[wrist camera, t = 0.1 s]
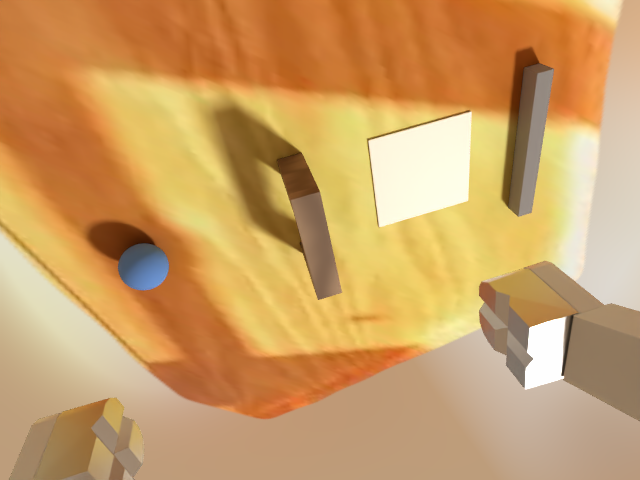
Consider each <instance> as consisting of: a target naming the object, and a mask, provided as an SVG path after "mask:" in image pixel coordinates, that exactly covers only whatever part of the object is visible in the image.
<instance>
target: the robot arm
mask: <svg viewBox="0 0 640 480" xmlns="http://www.w3.org/2000/svg"><path fill="white" fill-rule="evenodd" d="M479 296H480V297H481V298H482V300H483V301H484V302H485V303H484V304H483V306H482V307H481V309H480V310H479V316H480V324H481V327H482V330H483V333H484V335H485V337H486V338H487V340H488V342H489V343H490V345H491V346H492V347H493V349H494V350H495V351H498V352H500V353H502V354H505V355H507V358H506V366H507V367H508V368H509V369H510V371H511V372H512V373H513V375H514V376H515V377H516V378H517V380H518V381H519V382H520V384H521V385H522V386H523V387H524V389H528V388H531V387H534V386H537V385H541V384H544V383H547V382H551V381H554V380H557V379H560V378H563V380H564V381H566V382H568V383H570V384H572V385H574V386H576V387H577V388H579V389H581V390H583V391H585V392H587V393H589V394H590V395H592V396H594V397H596V398H598V399H600V400H601V401H603V402H605V403H607V404H609V405H611V406H612V407H614V408H616V409H618V410H620V411H622V412H624V413H625V414H627V415H629V416H631V417H633V418H635V419H637V420H638V421H640V312H639V311H636V310H632V309H629V308H625V307H622V306H619V305H615V304H612V303H611V304H607V305H604V304H602V303H601V302H600V301H599V300H597V299H596V298H595V297H594V296H592V295H591V294H590V293H589V292H587V291H586V290H585V289H584V288H582V287H581V286H580V285H579V284H577V283H576V282H575V281H574V280H572V279H571V278H570V277H569V276H567V275H566V274H565V273H564V272H562V271H561V270H560V269H559V268H558V267H556V266H555V265H554V264H553V263H551V262H548V261H543V262H540V263H537V264H534V265H531V266H528V267H525V268H523V269H519V270H516V271H513V272H510V273H507V274H503V275H500V276H497V277H494V278H491V279H488V280H485V281H482V282H481V284H480V286H479ZM123 410H124V406H123V405H122V404H121V403H120V402H119V400H118V399H117V398H108V399H105V400H102V401H98V402H94V403H91V404H88V405H84V406H81V407H77V408H74V409H70V410H67V411H63V412H62V413H58V414H55V415H51V416H48V417H44V418H40V419H38V420H37V421H36V422H35V423H34V424H33V425H32V426H31V428H30V431H29V433H28V436H27V438H26V440H25V443H24V445H23V447H22V450H21V452H20V454H19V457H18V459H17V462H16V464H15V466H14V469H13V471H12V473H11V476H10V478H9V480H135V479H134V478H133V477H134V476H135V474H136V473H137V471H138V470H139V469H140V467H141V466H142V464H143V456H144V446H143V437H142V434H141V431H140V429H139V427H138V425H137V424H136V423H135V421H134V420H132V419H129V418H126V417H123V416H122V415H123Z"/></svg>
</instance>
